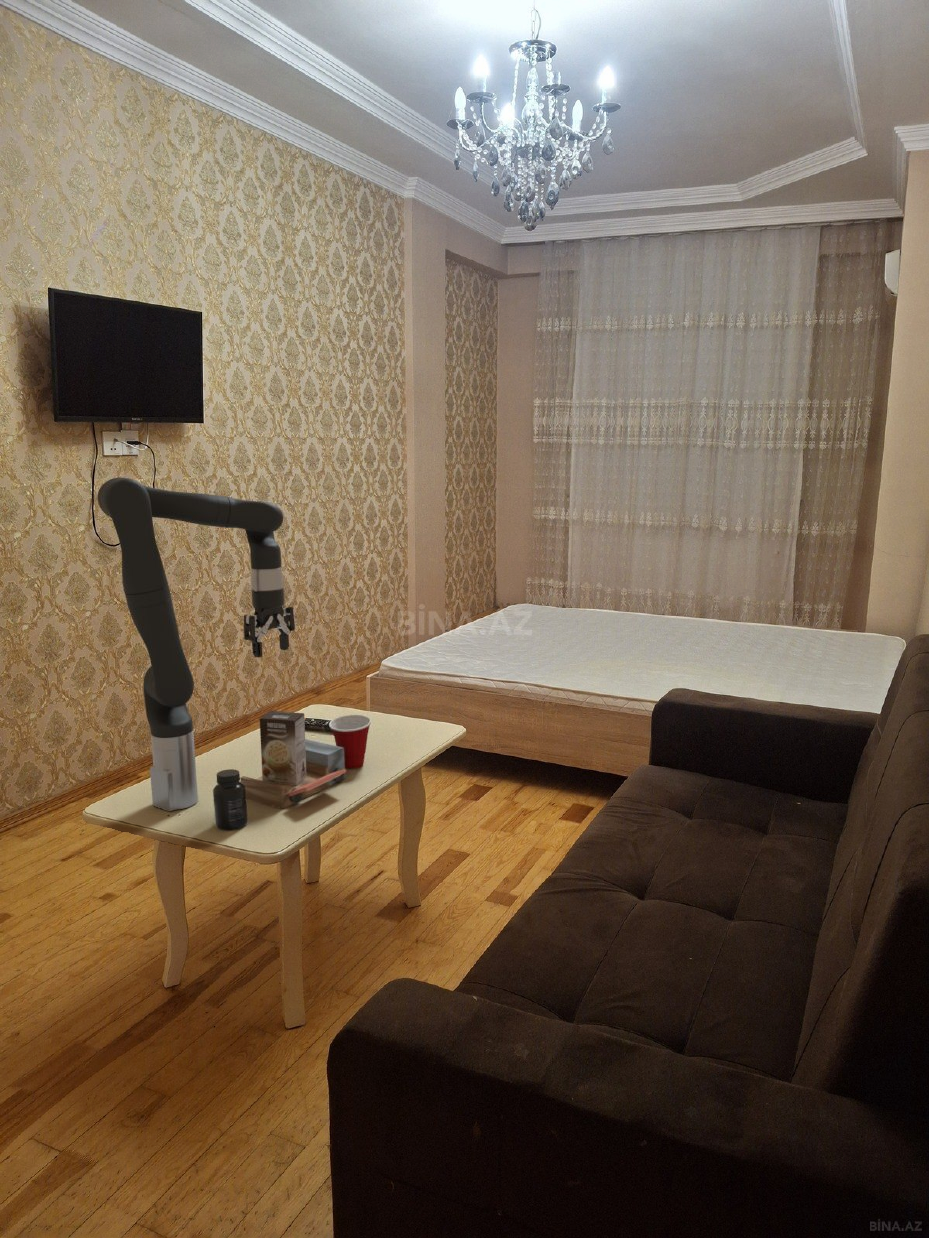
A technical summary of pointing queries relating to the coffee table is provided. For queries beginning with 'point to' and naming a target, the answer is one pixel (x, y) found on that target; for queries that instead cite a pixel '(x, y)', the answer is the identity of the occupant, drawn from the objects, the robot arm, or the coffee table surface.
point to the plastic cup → (351, 738)
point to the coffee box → (283, 747)
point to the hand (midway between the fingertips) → (271, 653)
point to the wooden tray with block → (318, 764)
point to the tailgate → (317, 782)
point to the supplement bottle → (230, 801)
